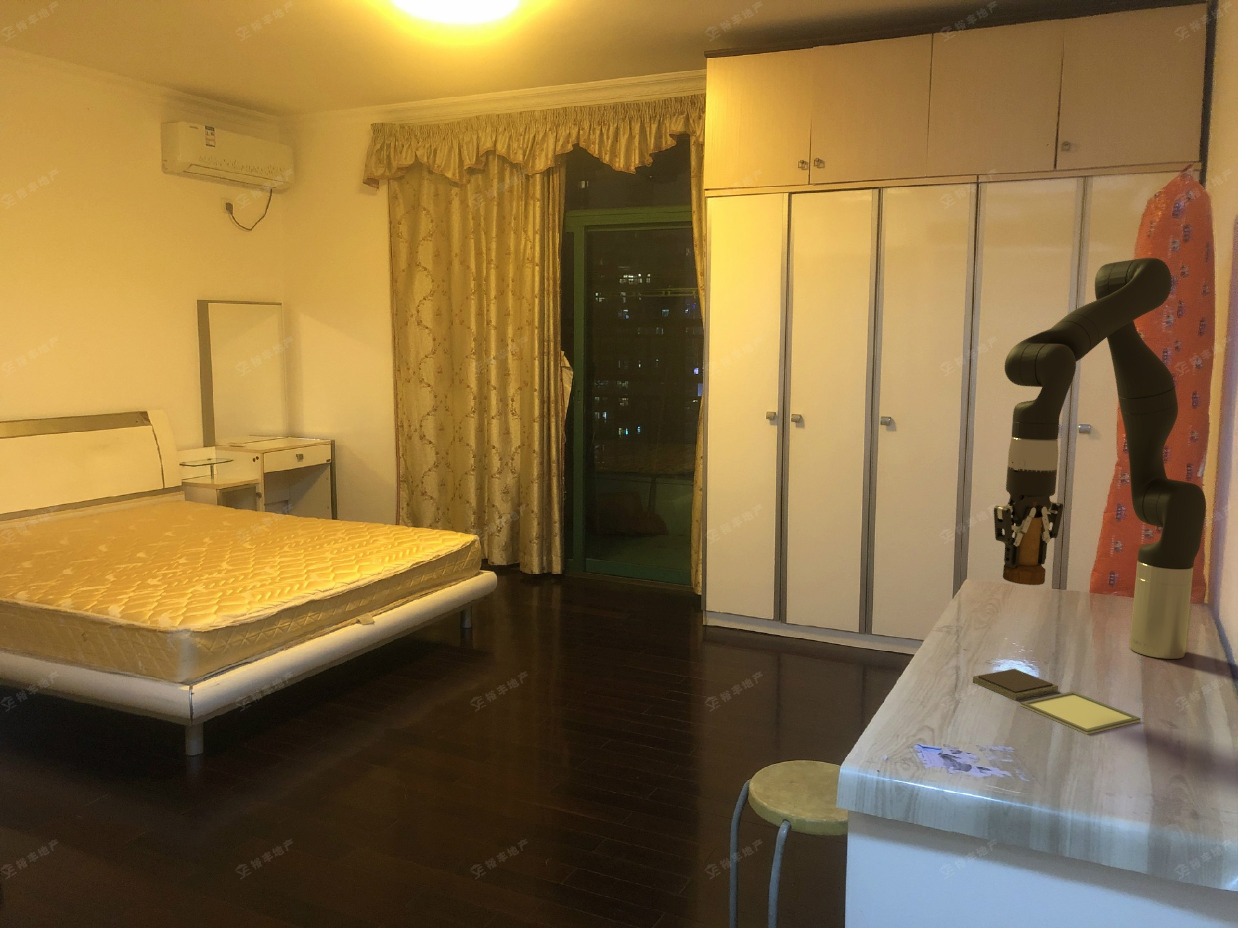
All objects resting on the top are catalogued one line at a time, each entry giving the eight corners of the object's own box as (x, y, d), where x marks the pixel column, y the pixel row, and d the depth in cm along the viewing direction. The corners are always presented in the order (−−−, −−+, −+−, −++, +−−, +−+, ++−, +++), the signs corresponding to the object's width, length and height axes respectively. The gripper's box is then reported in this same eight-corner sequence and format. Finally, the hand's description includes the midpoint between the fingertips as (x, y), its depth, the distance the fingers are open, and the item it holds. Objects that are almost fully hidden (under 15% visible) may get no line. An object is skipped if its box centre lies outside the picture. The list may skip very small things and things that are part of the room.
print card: (1072, 694, 156) (1072, 691, 156) (1140, 721, 145) (1140, 717, 145) (1020, 705, 151) (1020, 702, 151) (1087, 734, 140) (1087, 730, 140)
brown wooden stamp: (1049, 586, 153) (1057, 477, 151) (1007, 583, 154) (1015, 475, 152) (1039, 576, 159) (1047, 472, 157) (999, 574, 161) (1006, 470, 158)
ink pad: (1014, 673, 165) (1014, 667, 165) (1057, 691, 157) (1058, 684, 157) (972, 681, 161) (973, 675, 161) (1015, 700, 153) (1015, 693, 153)
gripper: (1043, 461, 161) (1036, 557, 163) (982, 464, 155) (975, 564, 157) (1082, 466, 154) (1073, 566, 156) (1020, 470, 148) (1012, 574, 150)
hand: (1024, 564), depth 157 cm, fingers closed on brown wooden stamp, 5 cm apart
